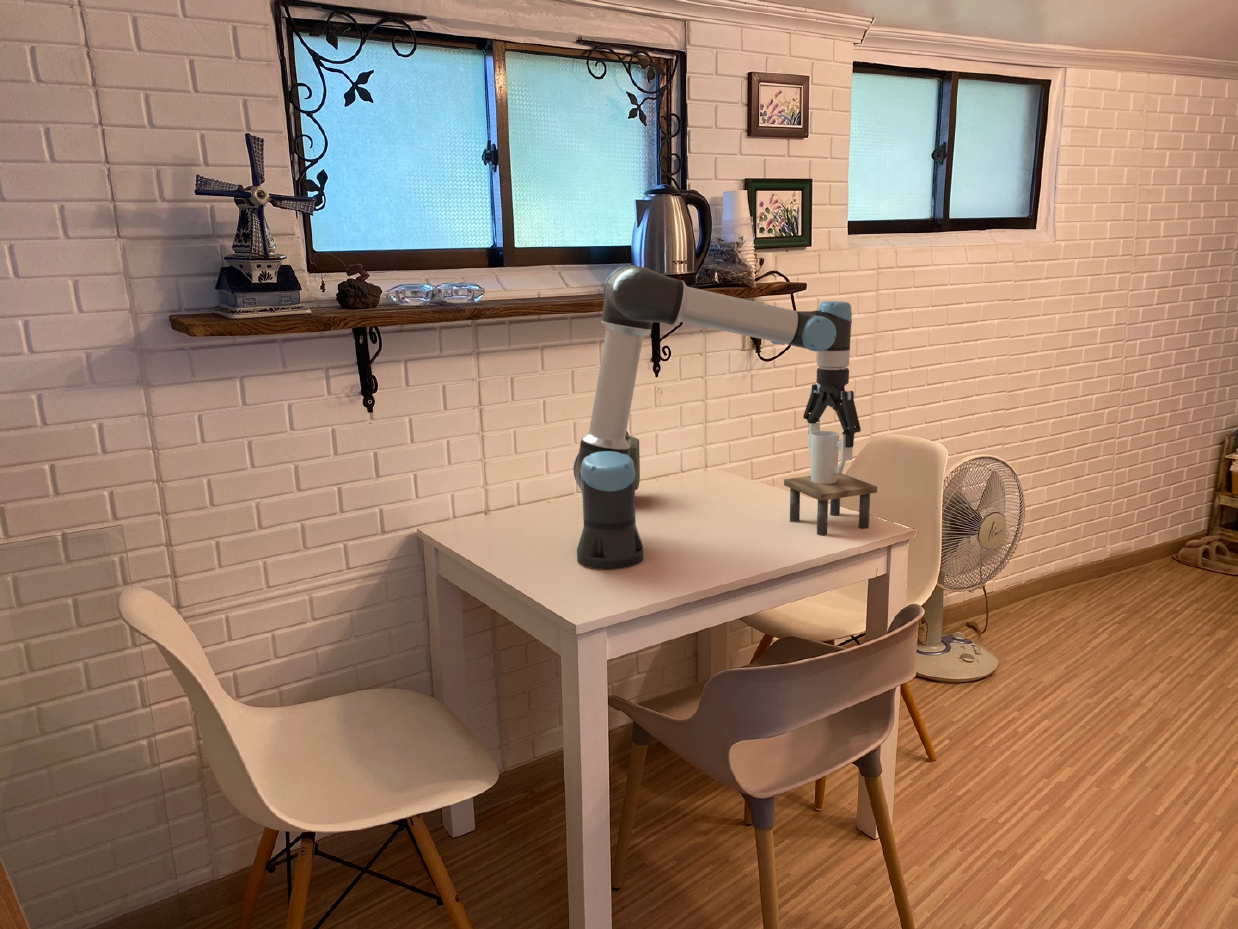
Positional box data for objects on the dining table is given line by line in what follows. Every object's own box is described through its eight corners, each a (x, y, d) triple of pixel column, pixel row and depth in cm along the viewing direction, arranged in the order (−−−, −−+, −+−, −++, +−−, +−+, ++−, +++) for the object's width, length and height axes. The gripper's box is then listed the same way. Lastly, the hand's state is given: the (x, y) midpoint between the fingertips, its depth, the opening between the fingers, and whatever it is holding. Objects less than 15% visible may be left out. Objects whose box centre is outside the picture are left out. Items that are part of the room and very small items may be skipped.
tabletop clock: (608, 494, 260) (606, 407, 254) (640, 494, 259) (638, 406, 253) (603, 509, 246) (600, 417, 240) (637, 509, 245) (635, 416, 239)
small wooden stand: (819, 537, 218) (820, 494, 216) (783, 519, 233) (784, 479, 230) (875, 528, 224) (877, 486, 221) (836, 511, 238) (838, 472, 236)
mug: (804, 480, 228) (805, 433, 226) (823, 476, 232) (824, 429, 229) (834, 489, 220) (835, 439, 217) (853, 484, 224) (855, 436, 221)
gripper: (879, 372, 209) (874, 463, 214) (816, 360, 232) (813, 443, 237) (851, 374, 207) (847, 467, 211) (791, 362, 229) (788, 446, 234)
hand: (829, 454), depth 224 cm, fingers open, 13 cm apart
